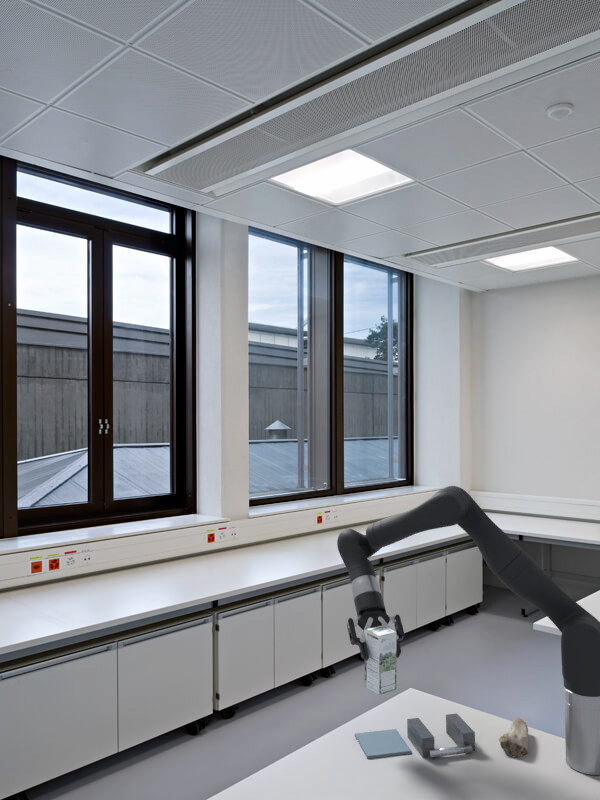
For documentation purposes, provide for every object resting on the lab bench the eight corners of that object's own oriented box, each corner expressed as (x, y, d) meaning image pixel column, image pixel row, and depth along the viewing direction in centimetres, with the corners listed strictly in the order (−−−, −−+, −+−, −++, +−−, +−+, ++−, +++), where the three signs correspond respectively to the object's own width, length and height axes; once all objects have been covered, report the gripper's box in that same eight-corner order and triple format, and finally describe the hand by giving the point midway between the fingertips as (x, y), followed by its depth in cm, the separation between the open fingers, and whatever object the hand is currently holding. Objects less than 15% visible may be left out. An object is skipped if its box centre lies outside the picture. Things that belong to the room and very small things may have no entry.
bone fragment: (525, 761, 147) (524, 740, 148) (497, 754, 151) (497, 734, 151) (538, 736, 159) (537, 717, 159) (512, 730, 162) (511, 712, 163)
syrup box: (381, 681, 160) (380, 624, 161) (397, 690, 156) (396, 630, 156) (364, 687, 157) (363, 628, 158) (379, 696, 152) (379, 635, 153)
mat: (395, 731, 162) (395, 728, 162) (411, 753, 151) (411, 750, 151) (354, 736, 160) (354, 733, 160) (367, 758, 149) (367, 756, 149)
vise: (457, 731, 162) (456, 713, 162) (478, 754, 150) (477, 735, 150) (407, 737, 159) (407, 719, 159) (425, 761, 148) (424, 741, 148)
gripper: (343, 591, 163) (357, 653, 151) (396, 587, 166) (413, 648, 154) (339, 606, 168) (351, 667, 156) (390, 602, 171) (406, 662, 159)
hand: (382, 657), depth 155 cm, fingers closed on syrup box, 7 cm apart
